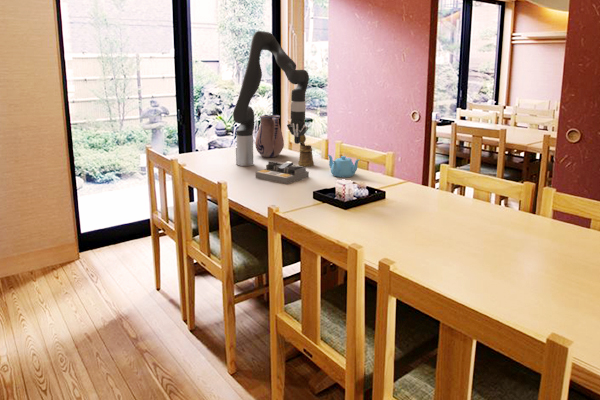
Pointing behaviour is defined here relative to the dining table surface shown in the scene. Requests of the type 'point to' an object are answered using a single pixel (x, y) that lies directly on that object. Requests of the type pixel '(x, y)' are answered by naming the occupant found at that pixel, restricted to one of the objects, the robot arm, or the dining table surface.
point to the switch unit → (282, 174)
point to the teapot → (343, 166)
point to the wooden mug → (305, 153)
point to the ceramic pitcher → (269, 136)
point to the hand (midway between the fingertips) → (297, 143)
